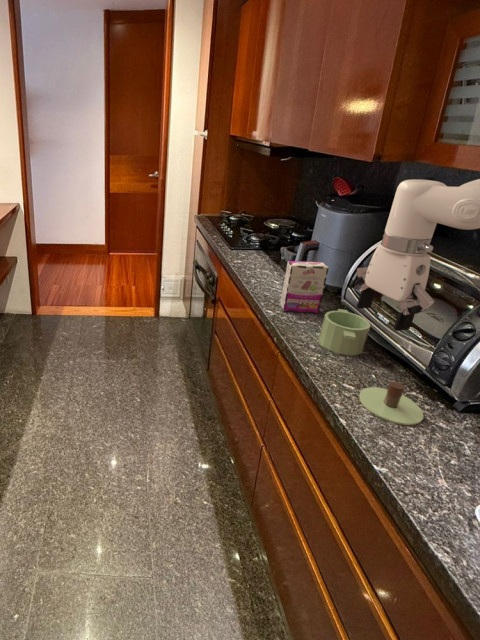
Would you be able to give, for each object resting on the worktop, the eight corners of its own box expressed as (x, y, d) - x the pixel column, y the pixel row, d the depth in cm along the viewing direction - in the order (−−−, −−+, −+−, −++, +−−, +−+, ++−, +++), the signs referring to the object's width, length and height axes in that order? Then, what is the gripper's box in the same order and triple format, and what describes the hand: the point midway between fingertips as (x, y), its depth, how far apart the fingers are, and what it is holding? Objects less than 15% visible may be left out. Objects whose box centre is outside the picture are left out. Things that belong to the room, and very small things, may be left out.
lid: (413, 399, 89) (422, 376, 86) (429, 434, 79) (439, 410, 77) (354, 385, 93) (361, 364, 91) (362, 417, 83) (370, 394, 81)
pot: (357, 336, 114) (364, 310, 110) (367, 366, 100) (375, 338, 97) (316, 328, 118) (322, 304, 114) (320, 356, 104) (327, 329, 101)
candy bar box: (313, 306, 131) (324, 261, 125) (318, 313, 126) (330, 267, 120) (278, 304, 133) (287, 259, 127) (282, 311, 128) (292, 265, 122)
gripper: (465, 256, 70) (434, 337, 77) (384, 230, 86) (364, 299, 92) (430, 259, 69) (401, 341, 75) (354, 232, 85) (336, 301, 91)
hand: (381, 318), depth 84 cm, fingers open, 9 cm apart
